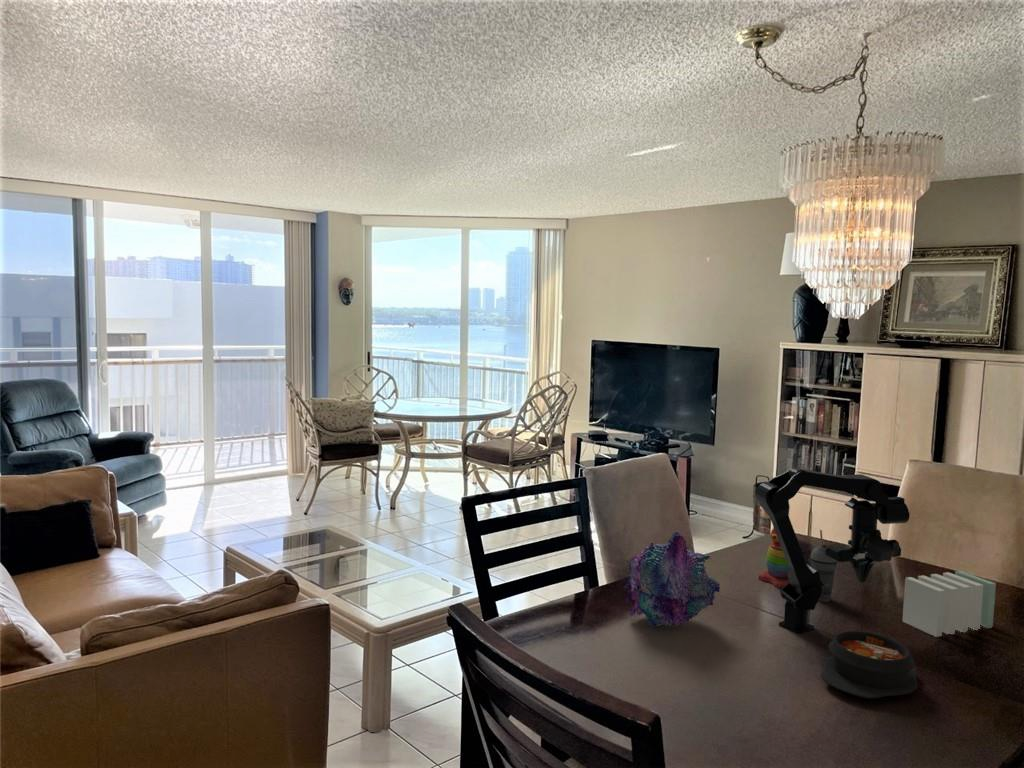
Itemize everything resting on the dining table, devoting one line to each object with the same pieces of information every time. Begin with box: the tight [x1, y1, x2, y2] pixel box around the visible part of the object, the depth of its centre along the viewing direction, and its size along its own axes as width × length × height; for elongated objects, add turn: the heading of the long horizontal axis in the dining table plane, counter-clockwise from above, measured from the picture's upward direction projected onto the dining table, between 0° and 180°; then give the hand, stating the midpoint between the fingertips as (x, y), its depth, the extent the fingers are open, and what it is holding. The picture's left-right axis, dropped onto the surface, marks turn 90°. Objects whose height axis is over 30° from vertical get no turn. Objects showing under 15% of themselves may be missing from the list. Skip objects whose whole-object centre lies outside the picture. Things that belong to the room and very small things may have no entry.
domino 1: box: [902, 576, 945, 638], centre depth 184 cm, size 2×10×12 cm, turn 19°
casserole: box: [820, 630, 919, 700], centre depth 155 cm, size 25×19×8 cm
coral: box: [623, 530, 721, 628], centre depth 183 cm, size 25×21×25 cm
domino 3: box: [929, 573, 971, 633], centre depth 186 cm, size 2×10×12 cm, turn 19°
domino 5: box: [954, 570, 997, 629], centre depth 189 cm, size 2×10×12 cm, turn 19°
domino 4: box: [942, 571, 983, 631], centre depth 188 cm, size 2×10×12 cm, turn 19°
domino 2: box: [917, 575, 958, 635], centre depth 185 cm, size 2×10×12 cm, turn 19°
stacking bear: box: [758, 527, 789, 589], centre depth 216 cm, size 11×10×18 cm
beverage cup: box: [809, 529, 839, 603], centre depth 203 cm, size 7×7×20 cm
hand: (861, 581), depth 184 cm, fingers closed
